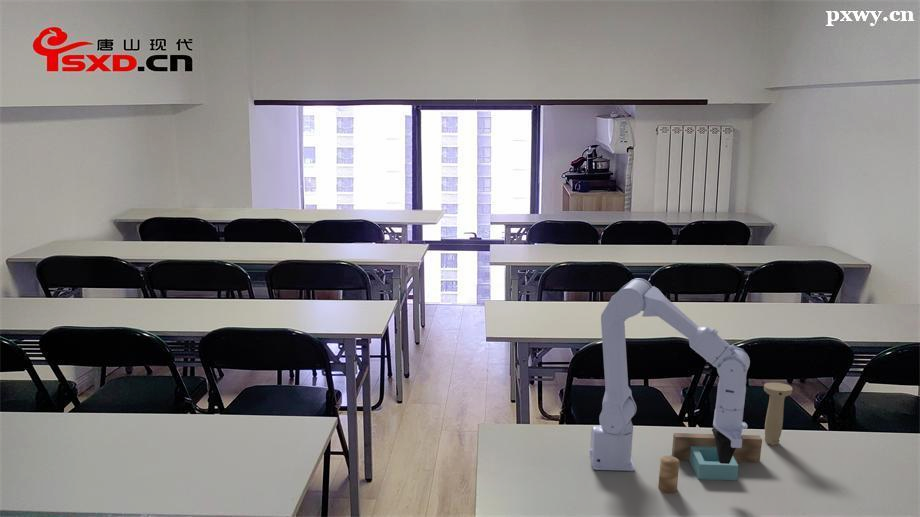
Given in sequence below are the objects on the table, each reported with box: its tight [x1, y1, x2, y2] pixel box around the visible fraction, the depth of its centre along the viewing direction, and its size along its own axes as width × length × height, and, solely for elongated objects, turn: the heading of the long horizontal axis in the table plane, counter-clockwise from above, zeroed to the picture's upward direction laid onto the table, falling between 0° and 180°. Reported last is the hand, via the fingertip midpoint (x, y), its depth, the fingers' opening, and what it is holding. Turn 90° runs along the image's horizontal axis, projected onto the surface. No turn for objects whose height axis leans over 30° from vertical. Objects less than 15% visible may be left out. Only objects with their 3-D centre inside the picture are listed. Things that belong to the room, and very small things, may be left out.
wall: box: [671, 432, 763, 463], centre depth 191 cm, size 20×2×6 cm, turn 88°
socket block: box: [688, 446, 739, 481], centre depth 186 cm, size 9×9×4 cm
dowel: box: [657, 455, 680, 494], centre depth 178 cm, size 4×4×7 cm
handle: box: [763, 382, 793, 447], centre depth 198 cm, size 5×6×15 cm
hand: (724, 462), depth 178 cm, fingers closed
